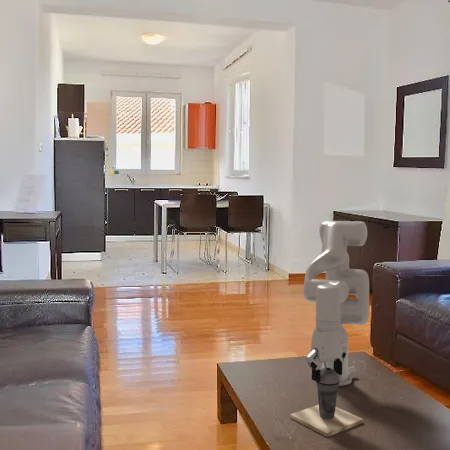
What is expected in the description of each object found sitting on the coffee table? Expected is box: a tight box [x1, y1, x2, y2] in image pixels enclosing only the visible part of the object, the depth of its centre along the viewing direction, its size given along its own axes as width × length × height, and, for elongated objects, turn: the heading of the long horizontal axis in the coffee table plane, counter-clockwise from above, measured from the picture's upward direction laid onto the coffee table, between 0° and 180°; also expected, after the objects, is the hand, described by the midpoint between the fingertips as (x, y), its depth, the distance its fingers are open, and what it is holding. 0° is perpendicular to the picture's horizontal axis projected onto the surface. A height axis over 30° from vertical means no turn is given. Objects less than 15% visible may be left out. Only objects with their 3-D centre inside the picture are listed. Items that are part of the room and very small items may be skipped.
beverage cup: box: [316, 362, 340, 419], centre depth 177 cm, size 7×7×20 cm
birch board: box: [289, 404, 364, 438], centre depth 177 cm, size 16×16×1 cm
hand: (327, 377), depth 176 cm, fingers open, 9 cm apart
